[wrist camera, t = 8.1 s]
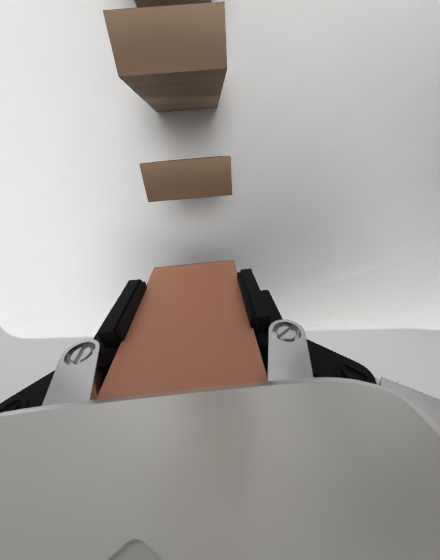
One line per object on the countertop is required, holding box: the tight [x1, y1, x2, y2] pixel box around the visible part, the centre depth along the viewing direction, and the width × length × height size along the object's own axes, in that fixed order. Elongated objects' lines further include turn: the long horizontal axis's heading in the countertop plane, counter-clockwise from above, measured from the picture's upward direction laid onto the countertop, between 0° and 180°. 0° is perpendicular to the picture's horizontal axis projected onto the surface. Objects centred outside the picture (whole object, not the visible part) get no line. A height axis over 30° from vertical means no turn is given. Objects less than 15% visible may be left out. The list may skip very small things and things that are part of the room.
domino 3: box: [97, 260, 267, 399], centre depth 10 cm, size 2×5×9 cm, turn 94°
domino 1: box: [103, 2, 227, 112], centre depth 13 cm, size 2×5×9 cm, turn 94°
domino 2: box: [140, 156, 232, 202], centre depth 16 cm, size 2×5×9 cm, turn 94°
